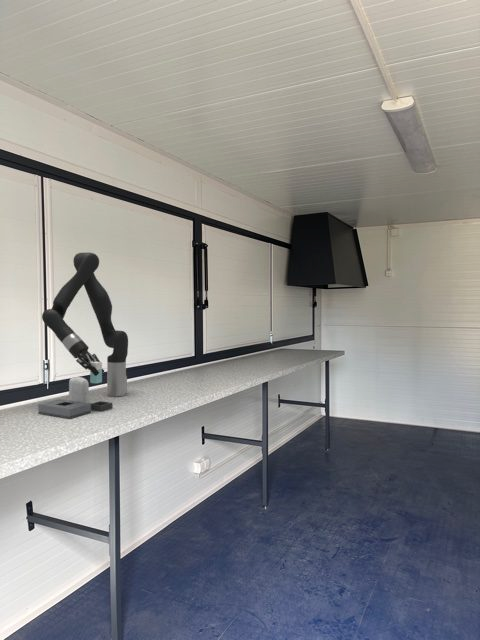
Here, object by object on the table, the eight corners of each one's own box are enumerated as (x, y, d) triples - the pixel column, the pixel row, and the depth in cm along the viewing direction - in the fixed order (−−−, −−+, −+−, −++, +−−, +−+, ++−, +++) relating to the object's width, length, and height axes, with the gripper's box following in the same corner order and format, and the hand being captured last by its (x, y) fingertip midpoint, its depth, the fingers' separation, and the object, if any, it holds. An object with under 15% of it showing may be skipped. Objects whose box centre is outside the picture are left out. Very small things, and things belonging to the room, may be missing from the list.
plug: (95, 381, 204) (95, 361, 204) (101, 382, 203) (102, 362, 203) (90, 382, 201) (90, 362, 201) (96, 383, 200) (96, 363, 199)
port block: (60, 407, 205) (60, 399, 205) (91, 412, 197) (91, 403, 197) (38, 413, 194) (38, 404, 194) (69, 418, 186) (69, 409, 186)
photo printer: (90, 403, 214) (90, 377, 213) (82, 405, 210) (82, 378, 210) (74, 401, 219) (74, 375, 219) (67, 402, 215) (67, 376, 215)
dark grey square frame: (100, 406, 209) (100, 401, 208) (112, 408, 206) (112, 402, 205) (88, 409, 202) (88, 404, 202) (101, 411, 199) (101, 405, 199)
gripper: (72, 340, 196) (98, 370, 194) (88, 338, 210) (113, 365, 208) (60, 352, 197) (86, 382, 195) (78, 349, 211) (102, 376, 209)
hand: (100, 373), depth 202 cm, fingers closed on plug, 4 cm apart
